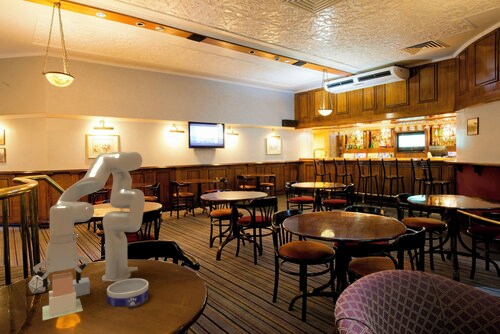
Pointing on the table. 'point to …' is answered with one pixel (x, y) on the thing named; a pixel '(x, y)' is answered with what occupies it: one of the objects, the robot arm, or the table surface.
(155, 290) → the table surface
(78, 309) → the plate
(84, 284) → the slate brick
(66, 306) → the base brick
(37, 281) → the game die
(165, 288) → the table surface
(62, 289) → the terracotta brick
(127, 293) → the dog bowl
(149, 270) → the table surface
